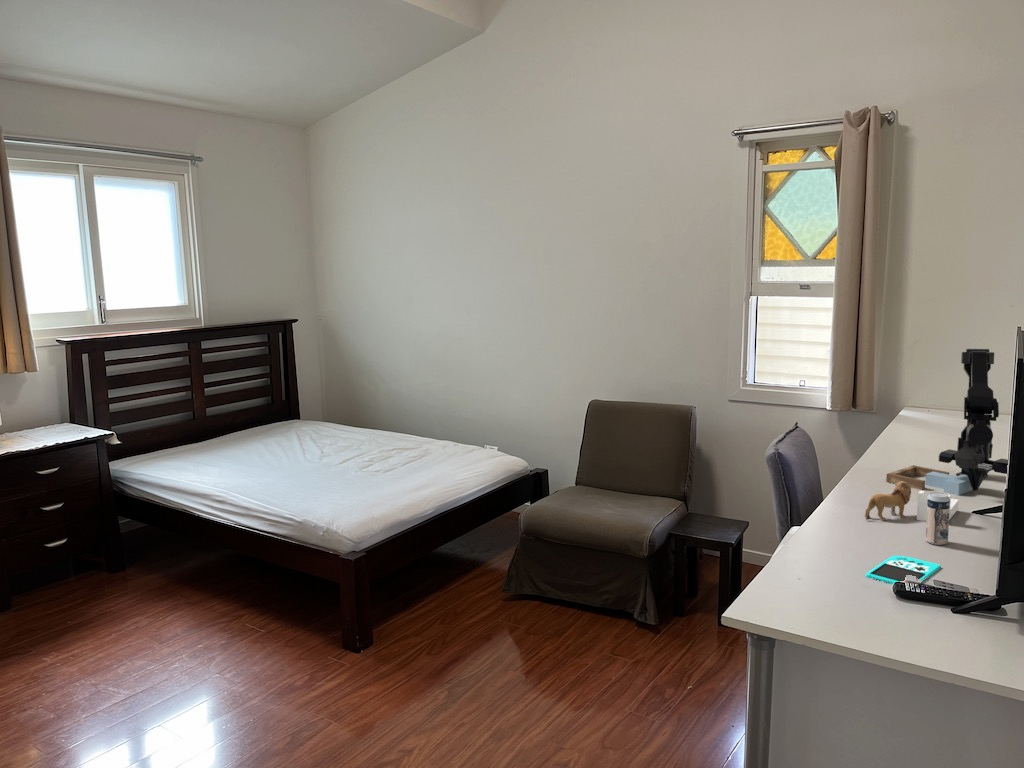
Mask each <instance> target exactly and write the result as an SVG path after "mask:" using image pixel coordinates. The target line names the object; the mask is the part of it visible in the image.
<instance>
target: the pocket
mask: <svg viewBox="0 0 1024 768" xmlns="http://www.w3.org/2000/svg"><path fill="white" fill-rule="evenodd" d="M933 471H934V472H939V473H944V474H949V475H950V472H949V471H943V470H940V469H936V468H929V467H925V466H924V467H923V466H919V465H911V466H908V467H904V468H901V469H898V470H895V471H891V472H889V473H886V478H885V482H886V483H890V484H894V485H895V484H897V483H899V482H900V481H903V482H907V483H908V484H909V485H910V487H911V489H912V488H913V489H916V490H919V491H924V490H925V489H926V485H925V484H926V480H923V479H918V478H913V476H919V477H924V478H926V474H927V473H930V472H933Z"/></svg>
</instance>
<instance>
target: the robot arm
mask: <svg viewBox="0 0 1024 768" xmlns="http://www.w3.org/2000/svg"><path fill="white" fill-rule="evenodd" d="M960 361H961V362H960V363H961V364H963V371H964V372H965V374H966V376H967V378H968V388H967V393H966V394H967V395H966V396H964V399H963V420H966V425H965V426H964V427H963V429H962V431H961V432H960V437H958V439H957V445H956V450H955V449H947V450H944V451H941V452H940V453H939V454H938V462H939V463H940V462H941V463H946V464H950V463H952V462H953V461H955V466H957V467H958V468H959V469H961V470H960V472H957V473H956V474H955V476H959V475H962V474H963V475H967V476H968V478H969V481H970V483H971V486H972V489H973V490H972V491H975V492H977V491H978V490H979V488H980V487H981V484H983V481H984V479H985V478H986V477H987V476H988V475H989V474H988V473H989V472H990V471H993V472H995V473H998V474H999V473H1000V474H1004V475H1008V474H1007V465H1008V460H1009V459H1006V458H1002V457H1001V458H999V459H996V460H991V459H992V456H993V454H992V453H993V439H994V433H993V430H992V427H991V425H992V424H991V423H992V422H996V421H997V418H999V415H1000V414H999V413H1000V411H999V408H1000V406H999V402H998V400H997V398H996V397H995V398H994V390H993V389H991V387H989V375H988V374H989V371H990V370H991V368H992V367H991V365H994V364H995V352H990V349H989V348H966V350H965V351H962V352H961V360H960Z"/></svg>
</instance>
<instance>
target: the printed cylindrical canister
mask: <svg viewBox="0 0 1024 768" xmlns="http://www.w3.org/2000/svg"><path fill="white" fill-rule="evenodd" d="M948 495H949V494H948V493H945V492H940V491H939V492H936V491H933V492H930V493H929V494H928V495H927V496H926V497H927V498H928V500H927V521H926V525H925V526H926V527H925V541H926V542H927V543H929V544H931V545H934V546H944V545H947V544H948V543H949V530H950V529H949V528H950V527H949V526H950V525H949V524H950V523H949V522H950V520H949V509H950V498H949V497H948Z"/></svg>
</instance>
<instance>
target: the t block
mask: <svg viewBox="0 0 1024 768" xmlns="http://www.w3.org/2000/svg"><path fill="white" fill-rule="evenodd" d="M925 486H928V487H932V488H938V489H942V490H943V493H945V494H949V495H955V496H961V495H963V494H966V493H968V492H972V491H974V490H973V489H972V486H971V483H970V481H969V478H968V476H967V475H963V474H962V475H959V476H958V475H953V474H950V473H949V474H944V473H939V472H934V471H933V472H930V473H927V474H926V477H925Z"/></svg>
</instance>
